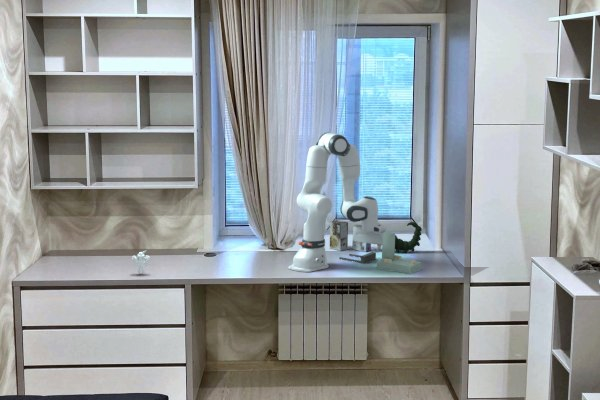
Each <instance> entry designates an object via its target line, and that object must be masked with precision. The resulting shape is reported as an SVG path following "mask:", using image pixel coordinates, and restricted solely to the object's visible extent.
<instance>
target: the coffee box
mask: <svg viewBox="0 0 600 400" xmlns="http://www.w3.org/2000/svg"><path fill="white" fill-rule="evenodd" d="M348 238H349V222H348V221H344V220H338V219H337V220H331V221H329V249H330V250H335V251H340V252H342V251H347V250H348V245H349V244H348V243H349V242H348Z"/></svg>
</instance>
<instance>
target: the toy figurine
mask: <svg viewBox="0 0 600 400" xmlns="http://www.w3.org/2000/svg"><path fill="white" fill-rule="evenodd" d="M406 226H407V227H409V226H412V227H413V228H415V229H414V230H415V231H413V235H412V238H411V239H410V240H403V239H401V238H398V236H397V235H396V234H395V252H396V253H400V252H401V251H402V252H403V253H404V254H407V253H408V252H409V251H411V252H415V248H416V247H419V246H421V244H420V241H421V239H422V238H421V236H422V230H423V228H422V226H420V225H418V223H416V222H414V221H410V222H408V223H407V224H406Z"/></svg>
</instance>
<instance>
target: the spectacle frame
mask: <svg viewBox="0 0 600 400" xmlns="http://www.w3.org/2000/svg"><path fill="white" fill-rule="evenodd" d="M348 256H350V257H353V256H355V257H354V258H359V257H360V258H359V259H360V260H359V259H353V258H349V257H343V256H340V257H338V258H339V260H341V259H342V260H341V261H346V260H348V261H347V262H352V261H353V262H354V263H357V264H358V263H360V264H363V265H365V264H368V263H370V262H371V263H372V262H373V261H375V260H376V261H377V252H376V251H374V252H373V251H370V252H368V253H366V254H363V255H360V254H359V255H358V254H354V253H349V254H348Z"/></svg>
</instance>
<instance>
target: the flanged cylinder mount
mask: <svg viewBox="0 0 600 400" xmlns="http://www.w3.org/2000/svg"><path fill="white" fill-rule="evenodd" d="M395 235H396V233H395V232H391V231H390V232H388V231H386V232H385V233H383V235H382V245H381V259H379V260H376V269H380V270H385V271H392V272H394V273H395V272H397V273H401V274H408V275H412V274H415V273H417V272H419V271H421V270H422V267H423V266H422V263H423V262H422V261H418V260H417V261H416V260H414V259H412V260H411V259H405V258H402V255H398V254H397V255H396V254H395V252H396V250H395ZM414 272H415V273H414Z"/></svg>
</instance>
